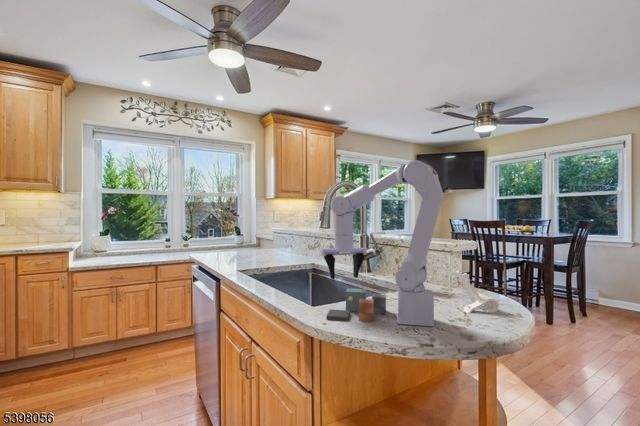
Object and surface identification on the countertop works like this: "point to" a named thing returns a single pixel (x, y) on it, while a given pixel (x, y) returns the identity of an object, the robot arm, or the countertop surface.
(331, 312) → the mat
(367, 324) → the countertop surface
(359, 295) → the box
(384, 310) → the slate block
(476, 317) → the countertop surface
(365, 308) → the terracotta block
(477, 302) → the plastic part
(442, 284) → the countertop surface
